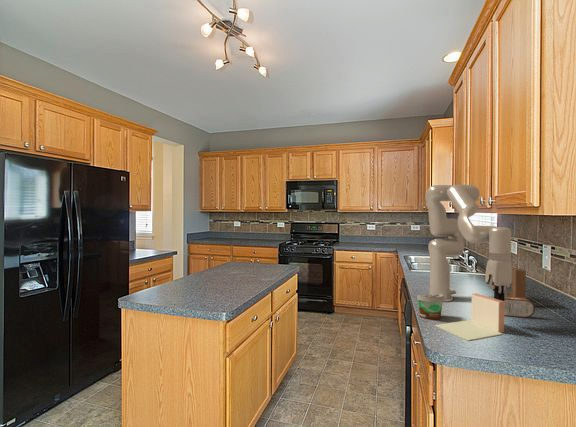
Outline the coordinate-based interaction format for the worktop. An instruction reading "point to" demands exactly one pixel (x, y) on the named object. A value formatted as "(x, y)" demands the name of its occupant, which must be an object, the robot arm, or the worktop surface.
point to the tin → (518, 307)
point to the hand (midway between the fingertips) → (499, 302)
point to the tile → (488, 312)
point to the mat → (468, 330)
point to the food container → (430, 306)
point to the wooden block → (518, 283)
